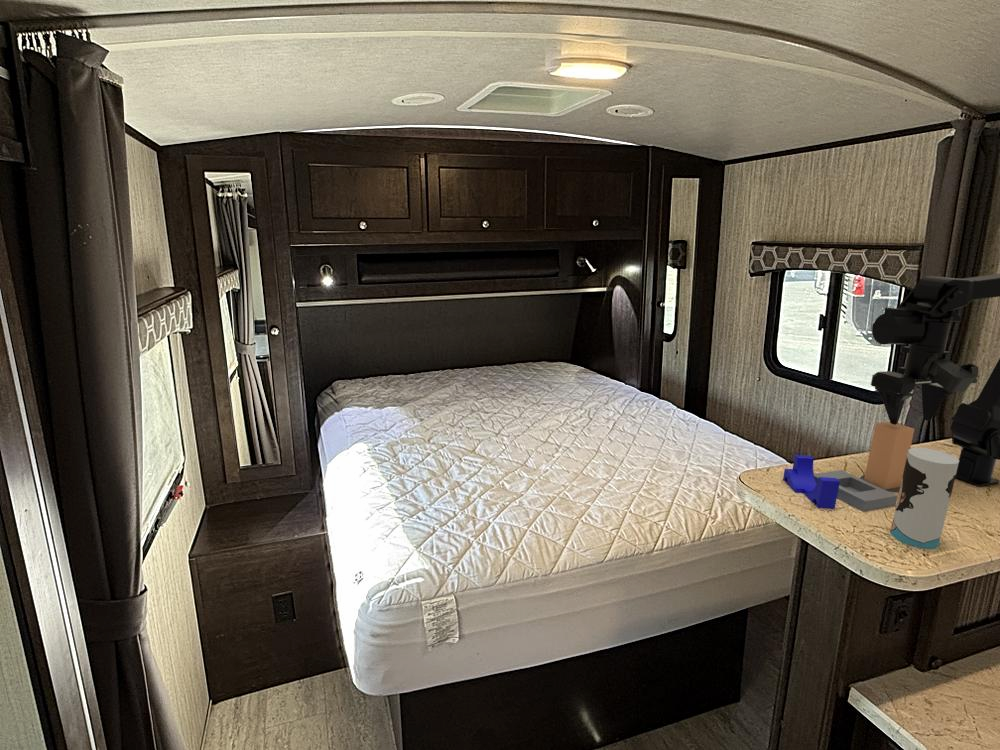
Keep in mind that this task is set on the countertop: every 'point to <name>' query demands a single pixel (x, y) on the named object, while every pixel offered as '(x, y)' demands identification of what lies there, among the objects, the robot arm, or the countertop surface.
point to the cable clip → (811, 483)
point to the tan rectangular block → (888, 454)
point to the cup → (924, 497)
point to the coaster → (882, 488)
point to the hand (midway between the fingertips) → (910, 422)
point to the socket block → (859, 491)
